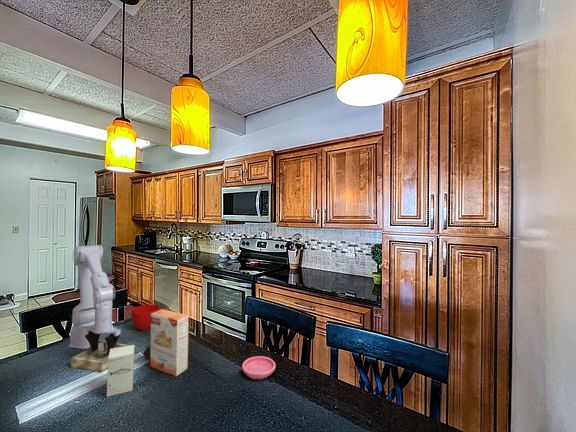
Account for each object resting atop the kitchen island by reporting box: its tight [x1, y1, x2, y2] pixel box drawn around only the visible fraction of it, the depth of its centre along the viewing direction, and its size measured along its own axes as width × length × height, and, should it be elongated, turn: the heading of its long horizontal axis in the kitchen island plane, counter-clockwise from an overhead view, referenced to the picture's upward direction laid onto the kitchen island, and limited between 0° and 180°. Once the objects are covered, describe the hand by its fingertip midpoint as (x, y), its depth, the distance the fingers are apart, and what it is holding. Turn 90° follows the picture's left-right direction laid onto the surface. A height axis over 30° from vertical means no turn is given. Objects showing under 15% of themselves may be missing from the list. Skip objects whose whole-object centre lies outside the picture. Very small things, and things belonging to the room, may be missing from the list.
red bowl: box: [131, 304, 161, 332], centre depth 137 cm, size 13×17×10 cm
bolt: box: [142, 345, 151, 361], centre depth 116 cm, size 6×5×15 cm
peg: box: [98, 339, 108, 359], centre depth 107 cm, size 3×3×7 cm
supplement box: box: [106, 344, 135, 398], centre depth 90 cm, size 7×7×13 cm
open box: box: [70, 342, 130, 373], centre depth 107 cm, size 14×14×4 cm
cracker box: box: [149, 308, 190, 377], centre depth 102 cm, size 14×6×21 cm, turn 65°
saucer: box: [241, 355, 276, 380], centre depth 101 cm, size 12×12×3 cm
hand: (102, 351), depth 107 cm, fingers open, 7 cm apart
